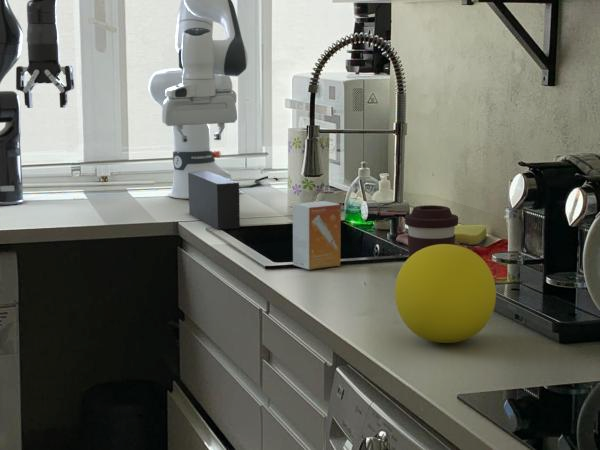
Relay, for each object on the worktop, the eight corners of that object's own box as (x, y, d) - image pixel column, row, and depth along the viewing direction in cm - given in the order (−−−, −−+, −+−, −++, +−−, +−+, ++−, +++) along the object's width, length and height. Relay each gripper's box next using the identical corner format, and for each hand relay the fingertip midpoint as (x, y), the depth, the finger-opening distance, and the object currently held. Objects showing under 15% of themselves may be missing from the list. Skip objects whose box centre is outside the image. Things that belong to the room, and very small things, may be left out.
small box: (309, 270, 213) (308, 207, 211) (292, 265, 218) (291, 203, 216) (341, 265, 217) (341, 203, 215) (324, 260, 222) (323, 200, 220)
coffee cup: (400, 280, 202) (400, 204, 200) (450, 279, 203) (451, 203, 201) (409, 292, 193) (410, 212, 190) (462, 291, 193) (463, 211, 191)
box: (239, 228, 265) (239, 182, 263) (218, 229, 263) (217, 184, 261) (209, 212, 291) (208, 171, 289) (189, 213, 289) (187, 172, 287)
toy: (462, 323, 171) (464, 233, 168) (512, 348, 157) (515, 250, 154) (379, 333, 165) (379, 240, 163) (423, 359, 151) (424, 258, 149)
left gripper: (75, 42, 264) (78, 106, 267) (20, 42, 265) (24, 107, 268) (66, 42, 256) (69, 108, 259) (9, 42, 258) (13, 108, 260)
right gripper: (232, 87, 287) (233, 137, 290) (159, 90, 280) (161, 141, 283) (239, 88, 281) (240, 140, 284) (165, 91, 274) (167, 144, 277)
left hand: (46, 107), depth 263 cm, fingers open, 8 cm apart
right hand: (200, 141), depth 283 cm, fingers open, 8 cm apart
